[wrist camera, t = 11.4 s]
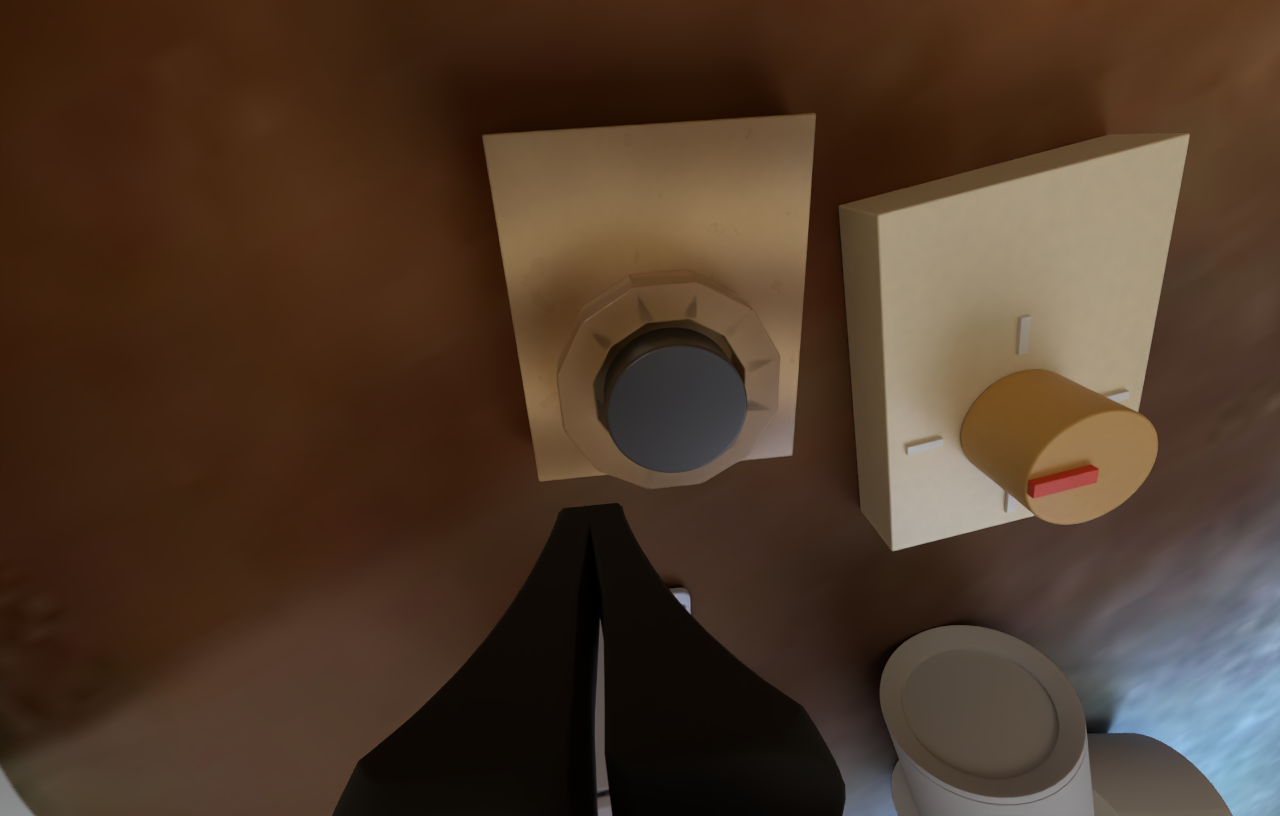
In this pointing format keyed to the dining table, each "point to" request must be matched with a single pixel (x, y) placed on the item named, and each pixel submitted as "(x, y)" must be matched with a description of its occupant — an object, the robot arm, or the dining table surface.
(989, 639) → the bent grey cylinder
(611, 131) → the switch box
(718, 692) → the robot arm
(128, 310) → the dining table surface
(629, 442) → the button
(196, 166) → the dining table surface
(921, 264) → the dimmer panel
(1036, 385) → the dimmer knob
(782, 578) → the dining table surface
